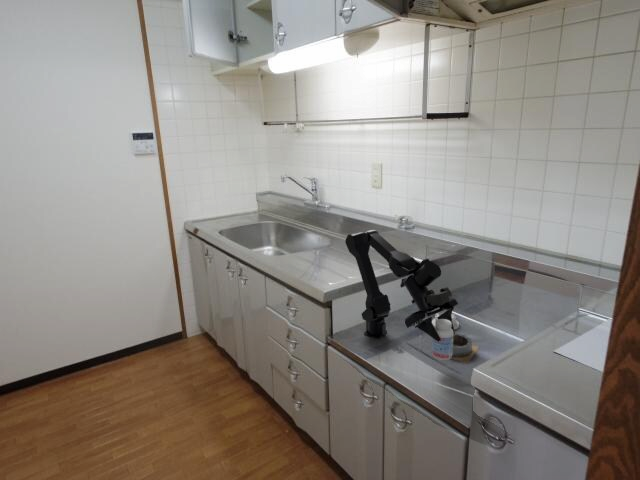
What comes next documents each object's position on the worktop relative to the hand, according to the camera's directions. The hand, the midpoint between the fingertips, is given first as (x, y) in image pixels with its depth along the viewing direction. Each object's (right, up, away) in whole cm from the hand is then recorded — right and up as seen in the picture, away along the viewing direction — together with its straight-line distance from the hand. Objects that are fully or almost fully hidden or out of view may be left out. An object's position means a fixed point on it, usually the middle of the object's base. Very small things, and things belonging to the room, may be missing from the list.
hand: (446, 337), depth 121 cm
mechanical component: (+10, -4, +33) cm, 35 cm away
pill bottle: (0, -6, +3) cm, 7 cm away
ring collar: (+8, -8, +15) cm, 19 cm away
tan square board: (+8, -8, +15) cm, 19 cm away
